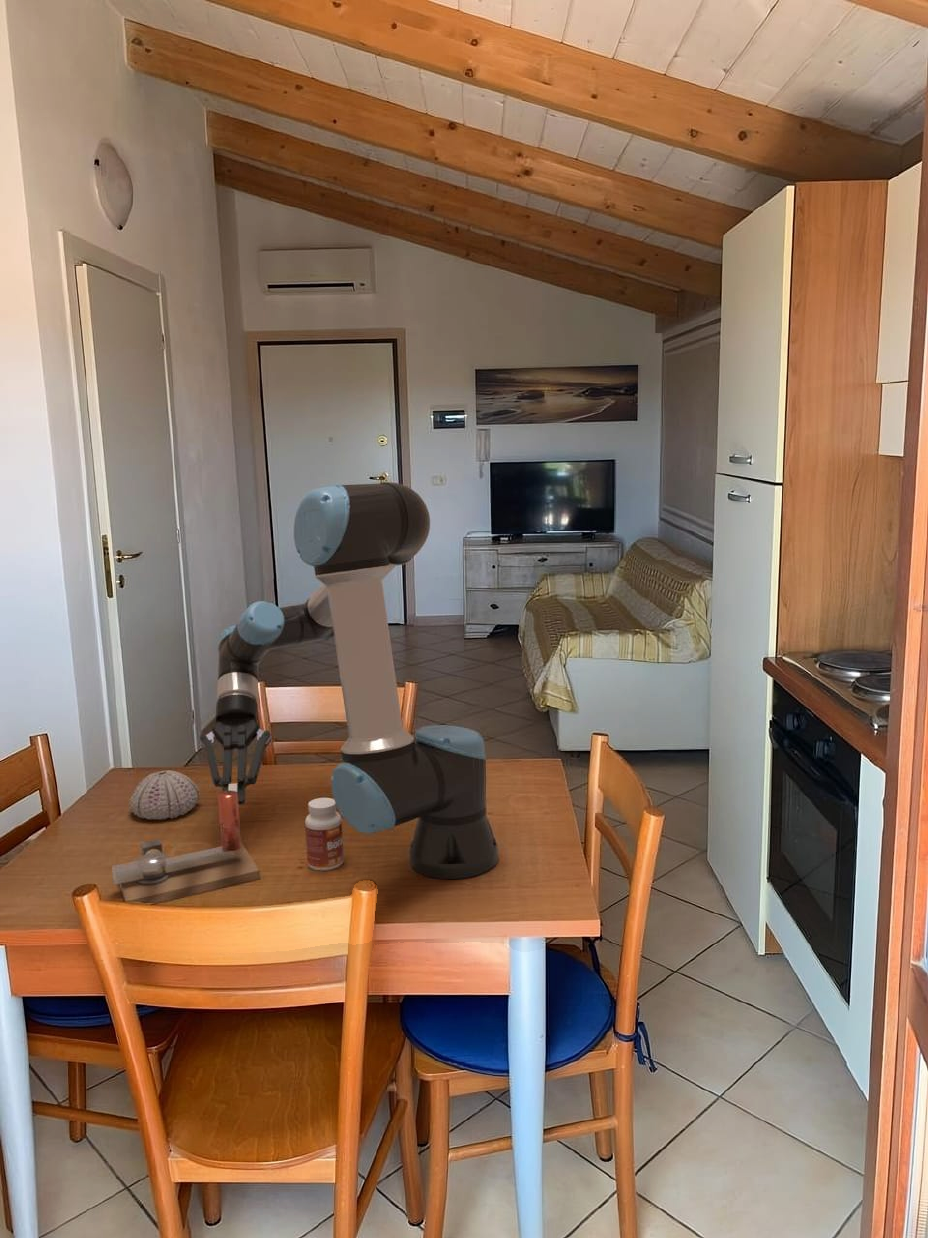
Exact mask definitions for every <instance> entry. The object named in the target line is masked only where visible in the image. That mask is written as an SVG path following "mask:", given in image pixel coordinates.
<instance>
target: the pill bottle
mask: <svg viewBox="0 0 928 1238" xmlns="http://www.w3.org/2000/svg"><path fill="white" fill-rule="evenodd" d="M307 806H308V808H307V809H308V813H309V814H307V816H306V818H305V821H304V822H305V823H304V827H305V840H306V841H305V842H306V843H305V844H306V855H307V856H306V861H307V865H308V867H309V868H311V869H312V870H315V871H329V870H330V871H331V870H335V869H336V868H339V867H340V866H341V865H342V864H343V863H344V860H345V859H344V841H343V839H344V837H343V823H342V822H343V821H342V820H343V819H342V815H340V814H341V813H340V812H337V809H338V807H337V805H336V803H335V800H334V798H331V797H319V798H318V797H317V798H314V799H312V800H310V801H309V802H308V805H307Z"/></svg>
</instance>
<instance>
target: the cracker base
mask: <svg viewBox="0 0 928 1238" xmlns="http://www.w3.org/2000/svg"><path fill="white" fill-rule="evenodd" d="M140 845H141V856H143V855H145V854H148V853H154V852H159V853H163V846H162V845H163V844H162V842H161V839H160V838H156V839H153V840H147V841H142V842H140ZM241 845H242V846H241V848H240V849H238V850H235V851H234V858H230V859H226V860H221V861H217V862H212V863H208V864H203V865H199V866H194V867H190V868H185V869H181V870H177V871H172V872H168V873H165V874H164V875H162V876H160V877H157V878H152V879H144V878H143V879H139V880H134V881H130V882H125V883H121V884H119V887H121V888H120V890H121V895H122V897H123V900H124V902H125V901H126V902H141V903H155V904H159V903H163V902H167V901H173V900H176V899H180V898H184V897H188V896H193V895H197V894H201V893H206V892H209V891H214V890H218V889H221V888H226V887H231V886H235V885H240V884H243V883H247V882H252V881H256V880H260V879H261V872H260V871H261V870H260V869H259V867H258V865H256V863H255V861H254V860H253V858H252V857H251V855H250V853H249V852H248V850H247V849H246V847H245V845H244V844H243V843H241Z"/></svg>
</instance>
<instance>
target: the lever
mask: <svg viewBox="0 0 928 1238" xmlns="http://www.w3.org/2000/svg"><path fill="white" fill-rule="evenodd" d="M217 802H218V813H219V814H218V817H219V826H220V827H219V828H220V837H221V839H220V840H221V846H217V847H213V848H209V849H208V848H207V849H203V850H199V851H194V852H190V853H185V854H181V855H175V856H170V857H167V856H166V854H165V853H163V852H162V853H159V852H154V853H148V854H145V855H143V856H142V855H141V856H139V857H138V858H137V860H134V861H130V862H125V863H120V864H116V865H112V866H111V867H112V868H111V869H112V877H113V881H114V884H115V885H116V886H117V885H120V884H121V883H125V882H130V881H134V880H139V879H143V878H144V879H152V878H157V877H160V876H162V875H164V874H165V873H168V872H172V871H177V870H181V869H185V868H190V867H194V866H199V865H203V864H208V863H212V862H217V861H221V860H226V859H230V858H234V851H235V850H238V849H240V848H241V846H242V845H241V844H242V833H241V822H240V811H239V808H240V807H239V808H238V795H237V792H236V791H224V792H222V791H221V792H219V793H218V794H217Z"/></svg>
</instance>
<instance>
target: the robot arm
mask: <svg viewBox="0 0 928 1238" xmlns="http://www.w3.org/2000/svg"><path fill="white" fill-rule="evenodd" d="M430 529H431V518H430V512H429V510H428V507H427V505H426V503H425V501H424V500H423V498H422V497H421V495H419V493H417V492H416V491H415V490H414V489H413V488H411V487H409V486H407V485H405V484H401V483H399V482H398V483H397V482H390V481H389V482H379V483H363V484H361V483H359V484H336V485H332V486H326V487H325V486H324V487H319V488H315V489H312V490H311V491H309V492H308V493H307V494H306V495H305V496H304V497H303V498H302V499H301V501H300V502H299V505H298V508H297V510H296V513H295V516H294V522H293V539H294V541H293V542H294V546H295V549H296V552H297V553H298V554H299V558H300V560H301V561H303V563H305V564H306V565H308V566H311V567H313V569H314V576H315V578H316V579H317V580H318V581H320V582H321V585H320V586H318V588H317V589H316V590H315V591H314V592H313V593H312V595H311V596H310V597H309V598H308V599H307V600H306V601H305V602H304V603H301V604H299V603H298V604H295V605H289V606H288V605H287V606H283V607H278V606H277V605H276V604H274V603H272V602H267V601H263V600H259V601H255V602H254V603H251V604H250V605H249V606H248V607H247V608H246V610H245V611H244V612H243V613H242V614H241V615H240V617H239V619H238V621H237V623H236V624H235V625H231V626H230V627H228V628H225V629H224V630H223V631H222V632H221V634H220V637H219V644H218V667H217V668H218V670H217V671H218V672H217V684H216V685H217V686H216V706H215V723H214V725H213V727H212V729H211V731H210V732H209V733H207V734H200V735H199V740H200V743H201V745H202V747H203V748H204V750H205V754H206V758H207V762H208V766H209V772H210V776H211V779H212V782H213V785H214V787H216V788H219V787H220V788H222V791H221V792H224V791H236V792H237V795H238V808H240V805H245V803H246V788H247V786H250V785H255V784H257V780H258V776H259V772H260V769H261V765H262V763H263V759H264V756H265V751H266V748H267V747H268V745H269V744H270V743H271V742H272V736H271V731H269V730H265V731H264V730H263V729H261V728H260V724H259V723H258V707H259V706H258V705H259V704H258V699H259V666H260V663H261V661H262V660H263V659H264V658H265V656H266V654H267V653H268V652H269V651H270V650H276V649H279V648H280V649H281V648H286V647H291V646H296V645H303V644H307V643H308V644H309V643H313V642H319V641H328V640H330V639H332V638H334V644H335V651H336V656H337V665H338V671H339V678H340V684H341V692H342V699H343V705H344V711H345V718H346V725H347V732H348V738H347V739H346V741H345V742H344V744H343V745H342V746H341V749H340V753H341V757H342V763H339V764H338V765H336V767H335V768H334V769H333V770H332V774H331V775H332V776H331V777H330V787H331V794H332V796H333V799H334V800H335V803H336V807H337V809H338V811H339V814H341V817H343V819H344V820H345V821H346V822H347V824H348V825H350V827H352V829H355V830H356V831H357V832H359V833H363V834H374V833H377V832H378V833H379V832H381V831H389V830H392V829H394V827H397V826H400V825H402V824H405V823H408V822H411V821H413V820H416V819H417V822H416V823H415V824H416V825H415V829H414V833H413V839H412V841H411V842H410V844H409V850H408V851H409V856H408V857H409V864H410V866H411V868H412V869H414V870H415V872H417V873H419V874H421V875H424V876H426V877H430V878H435V879H440V880H441V879H445V880H458V879H459V880H460V879H467V878H473V877H476V876H479V875H482V874H485V873H486V872H488V871H490V870H491V869H493V868H494V867H495V866H496V864H497V863H498V859H499V854H498V853H499V852H498V851H499V850H498V849H499V848H498V847H499V846H498V844H497V840H496V838H495V836H494V832H493V829H492V826H491V824H490V821H489V818H488V815H487V764H486V763H487V761H486V760H487V755H486V750H485V741H484V740H485V739H484V738H483V736H482V735H481V734H480V733H479V732H477V731H476V730H473V729H471V728H466V727H462V726H456V725H446V724H445V725H443V724H441V725H440V724H439V725H437V724H435V725H426V726H421V727H419V728H418V729H416V731H415V733H414V736H413V735H412V734H410V733H409V732H408V731H406V730H405V729H404V727H403V720H402V719H403V718H402V713H401V706H400V700H399V693H398V686H397V679H396V678H397V677H396V671H395V664H394V656H393V650H392V643H391V642H392V641H391V637H390V636H391V635H390V629H389V623H388V616H387V608H386V602H385V601H386V600H385V595H384V588H383V587H384V586H383V580H384V579H385V578H386V577H387V576H388V575H389V574H390V573H391V572H392V571H393V570H394V569H395V568H396V567H397V566H403V565H405V564H408V563H409V562H410V561H411V560H412V559H413V558H414V557H415V556H417V554H418V553H419V552H420V551H421V549H423V547H424V546H425V544H426V541H427V539H428V538H429V534H430ZM255 738H256V739H257V743H256V745H255V749H254V753H253V756H252V760H251V762H250V763H251V764H250V767H249V770H248V773H247V763H248V762H247V759H248V758H247V757H248V755H247V754H248V747H250V745H251V744H252V742H253V741H254V740H255ZM215 739H216V741H218V743H219V744H220V746H222V748H223V757H222V758H223V760H222V777H221V776H220V773H219V768H218V764H217V763H218V762H217V758H216V754H215V750H214V748H213V746H214V745H215ZM235 749H237V776H236V781H237V782H236V783H232V779H233V777H232V774H233V773H232V772H233V755H234V750H235Z"/></svg>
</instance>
